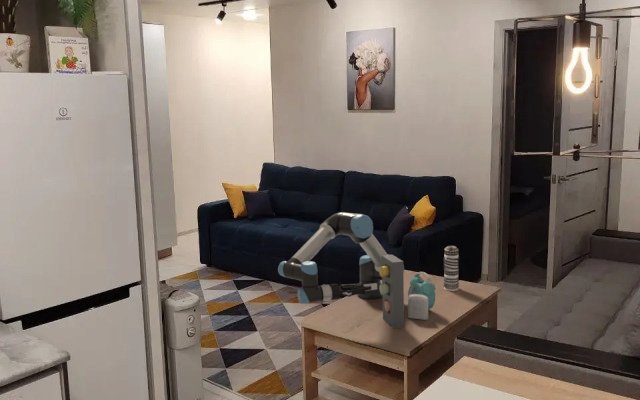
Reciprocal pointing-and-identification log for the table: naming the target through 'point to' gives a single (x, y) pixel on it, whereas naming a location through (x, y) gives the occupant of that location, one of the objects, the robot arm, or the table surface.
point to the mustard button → (384, 271)
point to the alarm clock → (423, 288)
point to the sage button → (384, 288)
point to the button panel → (394, 291)
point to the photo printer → (418, 307)
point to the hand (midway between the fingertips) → (376, 286)
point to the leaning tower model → (451, 268)
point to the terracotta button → (387, 305)
